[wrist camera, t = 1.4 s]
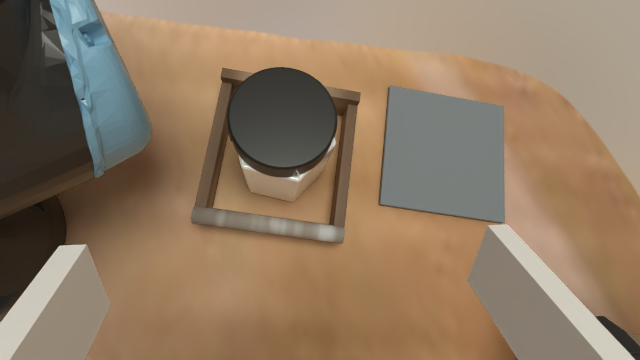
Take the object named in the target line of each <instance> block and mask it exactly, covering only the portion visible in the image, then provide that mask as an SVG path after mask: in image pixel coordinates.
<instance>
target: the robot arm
mask: <svg viewBox="0 0 640 360" xmlns="http://www.w3.org/2000/svg"><path fill="white" fill-rule="evenodd" d="M151 134H152V126H151V122H150V119H149V116H148V114H147V112H146V110H145V107H144V105H143V103H142V101H141V99H140V96H139V94H138V92H137V90H136V88H135V86H134V84H133V81H132V79H131V77H130V75H129V73H128V71H127V69H126V66H125V64H124V62H123V60H122V58H121V56H120V54H119V52H118V49H117V47H116V45H115V43H114V41H113V39H112V37H111V35H110V33H109V31H108V29H107V27H106V24H105V22H104V20H103V18H102V16H101V14H100V12H99V9H98V7H97V5H96V3H95V1H94V0H0V321H1V323H0V360H85V359H86V357H87V355H88V353H89V351H90V349H91V346H92V344H93V342H94V340H95V338H96V336H97V334H98V332H99V330H100V327H101V325H102V323H103V321H104V319H105V317H106V315H107V313H108V311H109V308H110V306H111V304H110V302H109V299H108V297H107V294H106V292H105V289H104V287H103V284H102V282H101V279H100V277H99V274H98V271H97V269H96V266H95V264H94V261H93V259H92V256H91V254H90V251H89V249H88V246H87V244H84V245H64V242H65V230H66V229H65V219H64V214H63V210H62V207H61V205H60V202H59V200H58V198H57V197H56V194H59V193H61V192H63V191H65V190H68V189H70V188H72V187H75V186H77V185H79V184H81V183H84V182H86V181H88V180H90V179H93V178H98V177H100V176H102V175H103V174H104V172H105V171H106V170H108V169H110V168H111V167H113V166H115V165H117V164H119V163H121V162H123V161H124V160H126V159H128V158H130V157H132V156H134V155H136V154H138V153H139V152H141V151H142V150H143V149H144V148H145V146H146V145H147V144H148V143H149V141H150V138H151ZM467 281H468V283H469V284H470V286H471V287H472V289H473V290H474V292H475V294H476V295H477V297H478V298H479V300H480V301H481V303H482V304H483V306H484V308H485V309H486V311H487V312H488V314H489V315H490V317H491V318H492V320H493V322H494V323H495V325H496V326H497V328H498V329H499V331H500V332H501V334H502V336H503V337H504V339H505V340H506V342H507V343H508V345H509V347H510V348H511V350H512V351H513V353H514V354H515V356H516V357H517V359H518V360H640V346H639V345H638V344H637V343H636V342H635V341H634V340H633V339H632V338H631V337H630V336H629V335H628V334H627V333H626V332H625V331H624V330H622V329H621V328H620V327H618V326H617V325H615V324H614V323H612V322H611V321H609V320H608V319H607V318H605V317H604V316H598V317H595V316H594V315H593V314H592V313H591V312H590V311H589V310H588V309H587V308H586V307H585V306H584V305H583V304H582V303H581V302H580V300H579V299H578V298H577V297H576V296H575V295H574V294H573V293H572V292H571V291H570V290H569V289H568V288H567V287H566V286H565V285H564V284H563V282H562V281H561V280H560V279H559V278H558V277H557V276H556V275H555V274H554V273H553V272H552V271H551V270H550V269H549V268H548V267H547V266H546V264H545V263H544V262H543V261H542V260H541V259H540V258H539V257H538V256H537V255H536V254H535V253H534V252H533V251H532V250H531V249H530V248H529V246H528V245H527V244H526V243H525V242H524V241H523V240H522V239H521V238H520V237H519V236H518V235H517V234H516V233H515V232H514V231H513V230H512V228H511V227H510V226H509V225H508V224H505V225H488V226H487V229H486V231H485V234H484V237H483V239H482V242H481V245H480V248H479V250H478V253H477V256H476V258H475V261H474V264H473V266H472V269H471V272H470V275H469V277H468V280H467Z"/></svg>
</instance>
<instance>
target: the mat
mask: <svg viewBox="0 0 640 360" xmlns="http://www.w3.org/2000/svg"><path fill="white" fill-rule="evenodd" d="M379 205H382V206H389V207H396V208H402V209H409V210H416V211H422V212H429V213H436V214H443V215H449V216H456V217H463V218H469V219H476V220H483V221H489V222H496V223H505V208H504V106H499V105H494V104H488V103H483V102H477V101H472V100H466V99H461V98H456V97H450V96H445V95H439V94H434V93H428V92H423V91H417V90H412V89H406V88H401V87H395V86H390V87H389V88H388V100H387V112H386V124H385V136H384V148H383V160H382V171H381V183H380V195H379Z"/></svg>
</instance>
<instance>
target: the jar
mask: <svg viewBox="0 0 640 360" xmlns="http://www.w3.org/2000/svg"><path fill="white" fill-rule="evenodd" d="M227 127H228V133H229V136H230V139H231V141H232V142H233V144H234V147H235V149H236V151H237V153H238V157H239V161H240V164H241V168H242V171H243V173H244V176H245V179H246V182H247V185H248V188H249V191H250V192H253V193H257V194H261V195H265V196H269V197H273V198H277V199H282V200H286V201H290V202H294V201H295V200H296V199H297V198H298V197H299V195H300V194H301V193H302V192H303V191H304V190H305V189H306V188H307V187H308V186H309V185H310V184H311V183H312V182H313V181H314V180H315V179H316V178H317V177H318V176H319V175H320V174H321V173H322V171H323V169H324V167H325V165H326V163H327V161H328V159H329V157H330V155H331V153H332V151H333V149H334V147H335V145H336V140H335V134H336V129H337V111H336V107H335V104H334V101H333V99H332V97H331V95H330V93H329V92H328V91H327V89H326V88H325V87H324V86H323V85H322V84H321V83H320V82H319V81H318V80H317V79H315V78H314V77H312V76H311V75H309V74H307V73H305V72H303V71H300V70H296V69H292V68H285V67H276V68H269V69H265V70H261V71H259V72H256V73H254V74H252V75H251V76H249V77H248V78H246V79H245V80H244V81H243V82H242V83H241V84H240V85H239V86H238V87H237V88H236V90H235V91H234V93H233V95H232V97H231V99H230V102H229V105H228V110H227Z"/></svg>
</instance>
